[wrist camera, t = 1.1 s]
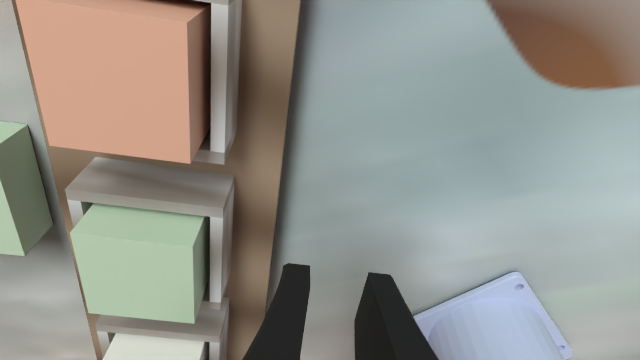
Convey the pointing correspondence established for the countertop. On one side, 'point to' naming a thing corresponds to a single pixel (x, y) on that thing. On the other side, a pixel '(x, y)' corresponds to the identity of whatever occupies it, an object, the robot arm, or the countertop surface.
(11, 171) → the block
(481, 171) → the countertop surface
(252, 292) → the button console
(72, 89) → the terracotta button
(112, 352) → the cream button
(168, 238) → the sage button
